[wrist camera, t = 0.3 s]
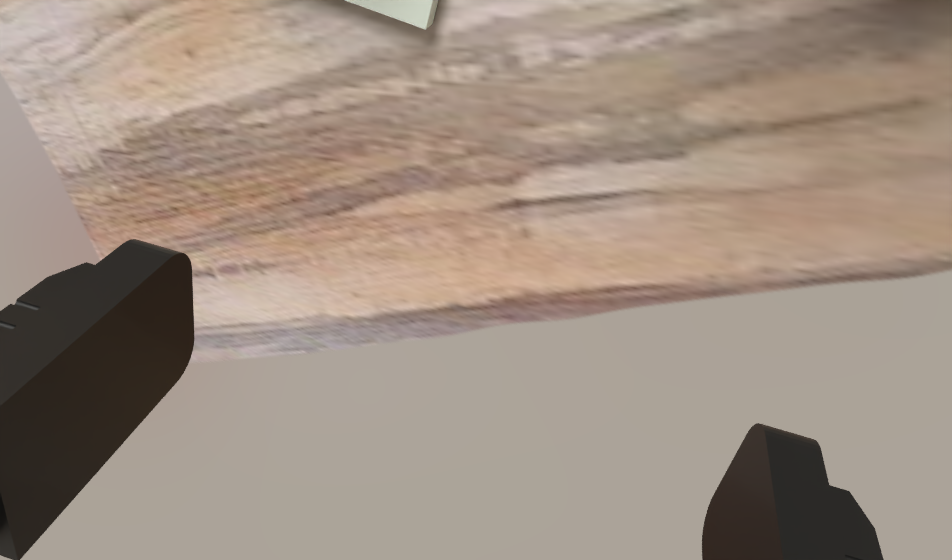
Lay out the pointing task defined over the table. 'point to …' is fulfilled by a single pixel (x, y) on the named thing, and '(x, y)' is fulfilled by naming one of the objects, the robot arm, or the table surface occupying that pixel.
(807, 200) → the table surface
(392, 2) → the board
